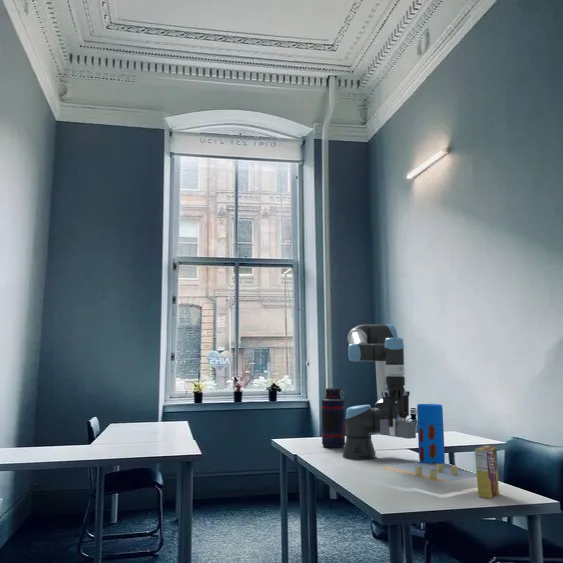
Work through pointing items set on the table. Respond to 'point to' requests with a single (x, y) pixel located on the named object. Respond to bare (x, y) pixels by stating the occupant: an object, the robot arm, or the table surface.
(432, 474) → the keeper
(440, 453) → the red-spotted blue pillar
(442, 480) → the door board
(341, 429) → the dark blue bottle
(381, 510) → the table surface
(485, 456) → the candy box
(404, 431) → the bar
